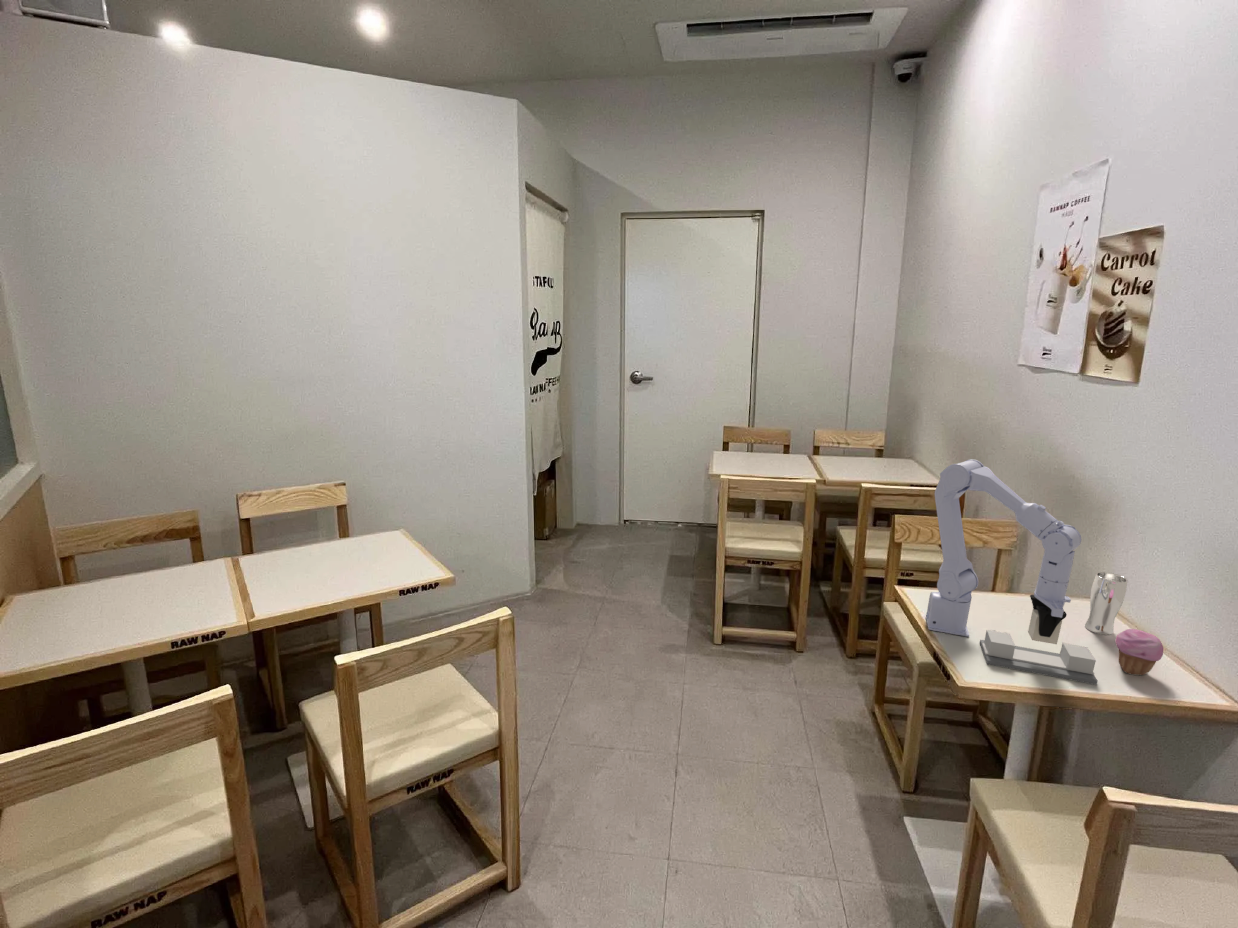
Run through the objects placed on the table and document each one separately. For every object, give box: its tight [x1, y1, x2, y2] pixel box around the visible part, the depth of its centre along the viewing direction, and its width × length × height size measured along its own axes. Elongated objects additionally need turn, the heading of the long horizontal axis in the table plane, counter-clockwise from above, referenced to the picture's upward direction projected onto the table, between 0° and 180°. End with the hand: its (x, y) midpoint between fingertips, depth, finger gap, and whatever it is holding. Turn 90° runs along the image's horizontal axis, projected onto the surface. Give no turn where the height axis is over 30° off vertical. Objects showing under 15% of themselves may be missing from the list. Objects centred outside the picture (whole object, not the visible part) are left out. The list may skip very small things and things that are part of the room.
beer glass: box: [1084, 571, 1129, 636], centre depth 168 cm, size 7×7×15 cm
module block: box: [1027, 608, 1063, 645], centre depth 151 cm, size 5×4×6 cm
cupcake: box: [1114, 628, 1164, 676], centre depth 150 cm, size 9×9×10 cm
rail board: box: [979, 629, 1099, 686], centre depth 153 cm, size 22×10×5 cm, turn 70°
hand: (1042, 631), depth 151 cm, fingers closed on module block, 4 cm apart
